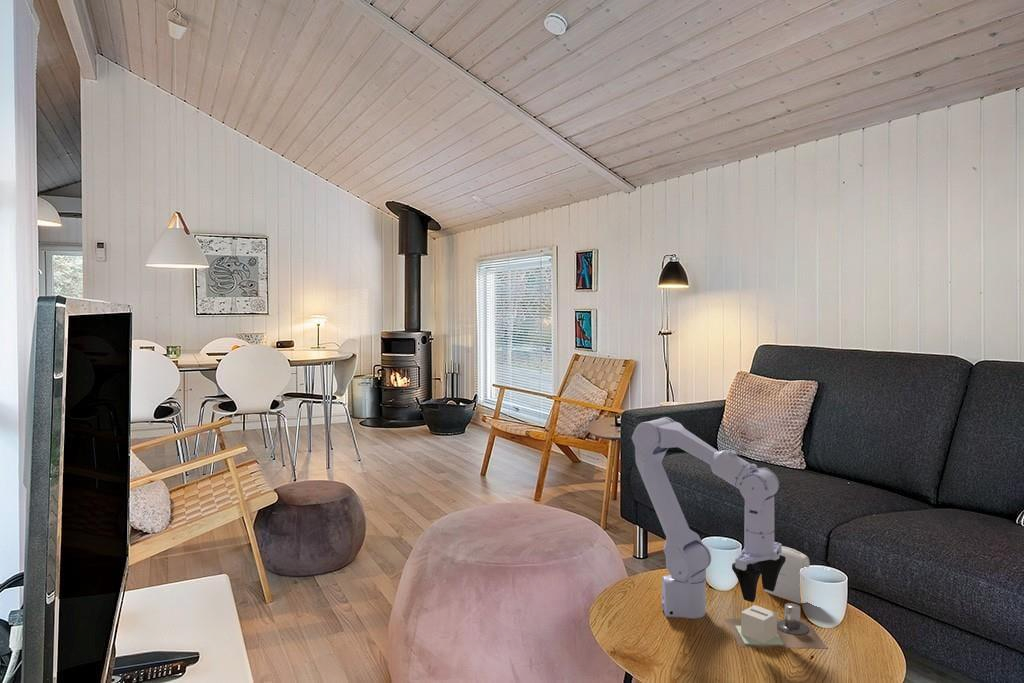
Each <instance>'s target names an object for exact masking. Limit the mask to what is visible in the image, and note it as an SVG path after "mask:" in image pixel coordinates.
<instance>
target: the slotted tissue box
mask: <svg viewBox="0 0 1024 683" xmlns="http://www.w3.org/2000/svg"><path fill="white" fill-rule="evenodd" d="M740 619H741V634H742V635H745V636H747V637H750V638H752V639H755V640H757V641H759V642H762V643H765V642H767V641H768V640H770V639H771V638H773V637H775V636H776V635H777V620H778V612H776V611H773V610H770V609H767V608H764V607H761V606H759V605H756V604H753V605H752V606H750V607H748V608H745V609H743V610H742V611H741V612H740Z"/></svg>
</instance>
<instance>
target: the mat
mask: <svg viewBox="0 0 1024 683" xmlns="http://www.w3.org/2000/svg"><path fill="white" fill-rule="evenodd" d="M735 627H736V629H737V631H738V633H739V635H740V637H741V639H742V640H743V642H744V644H745V645H776V646H784V644H783V642H782V641H781V639H780V638H779V636H778V635H776V636H775V637H773V638H771V639H770V640H768V641H767V642H765V643H762V642H759V641H757V640H755V639H752V638H750V637H747V636H745V635H742V634H741V626H735Z"/></svg>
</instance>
